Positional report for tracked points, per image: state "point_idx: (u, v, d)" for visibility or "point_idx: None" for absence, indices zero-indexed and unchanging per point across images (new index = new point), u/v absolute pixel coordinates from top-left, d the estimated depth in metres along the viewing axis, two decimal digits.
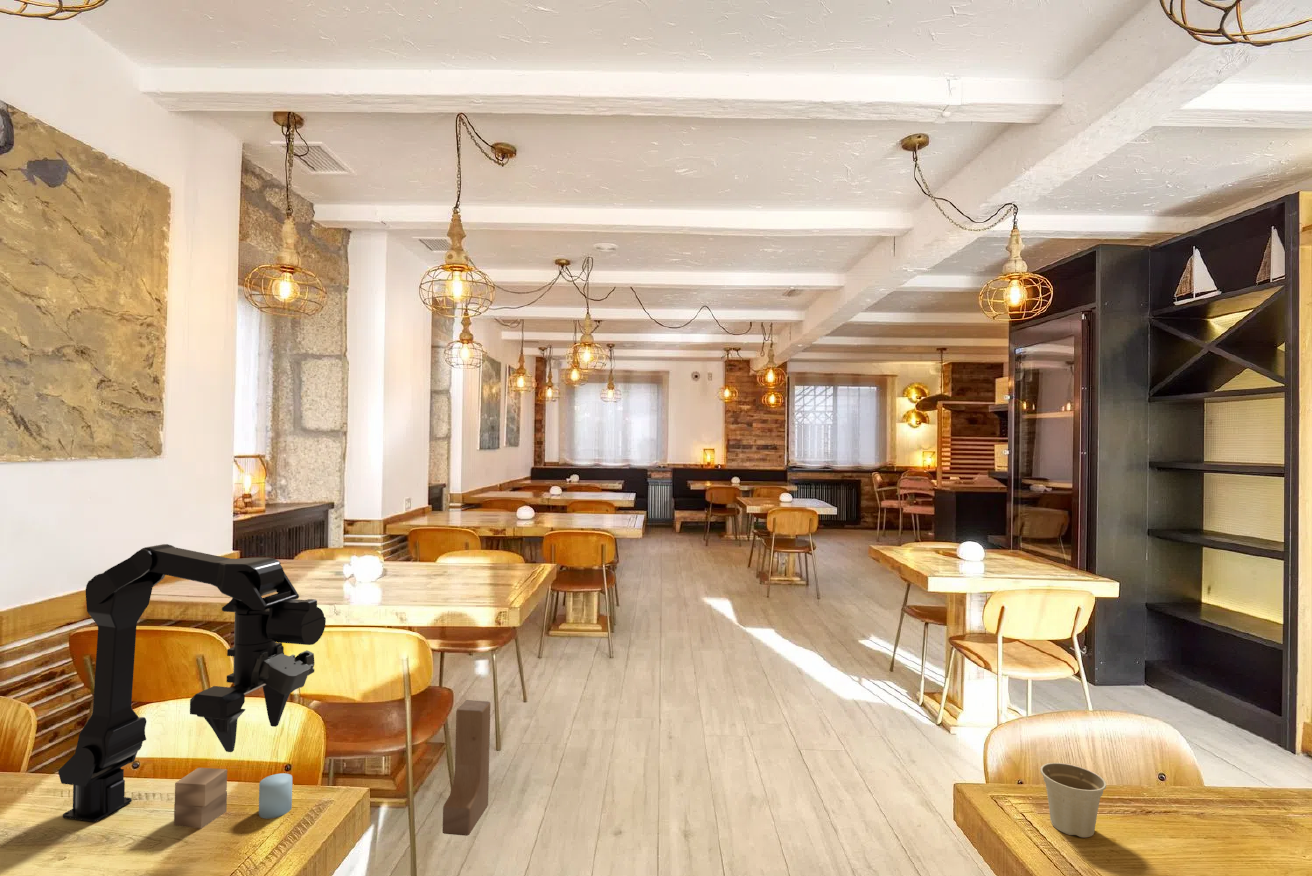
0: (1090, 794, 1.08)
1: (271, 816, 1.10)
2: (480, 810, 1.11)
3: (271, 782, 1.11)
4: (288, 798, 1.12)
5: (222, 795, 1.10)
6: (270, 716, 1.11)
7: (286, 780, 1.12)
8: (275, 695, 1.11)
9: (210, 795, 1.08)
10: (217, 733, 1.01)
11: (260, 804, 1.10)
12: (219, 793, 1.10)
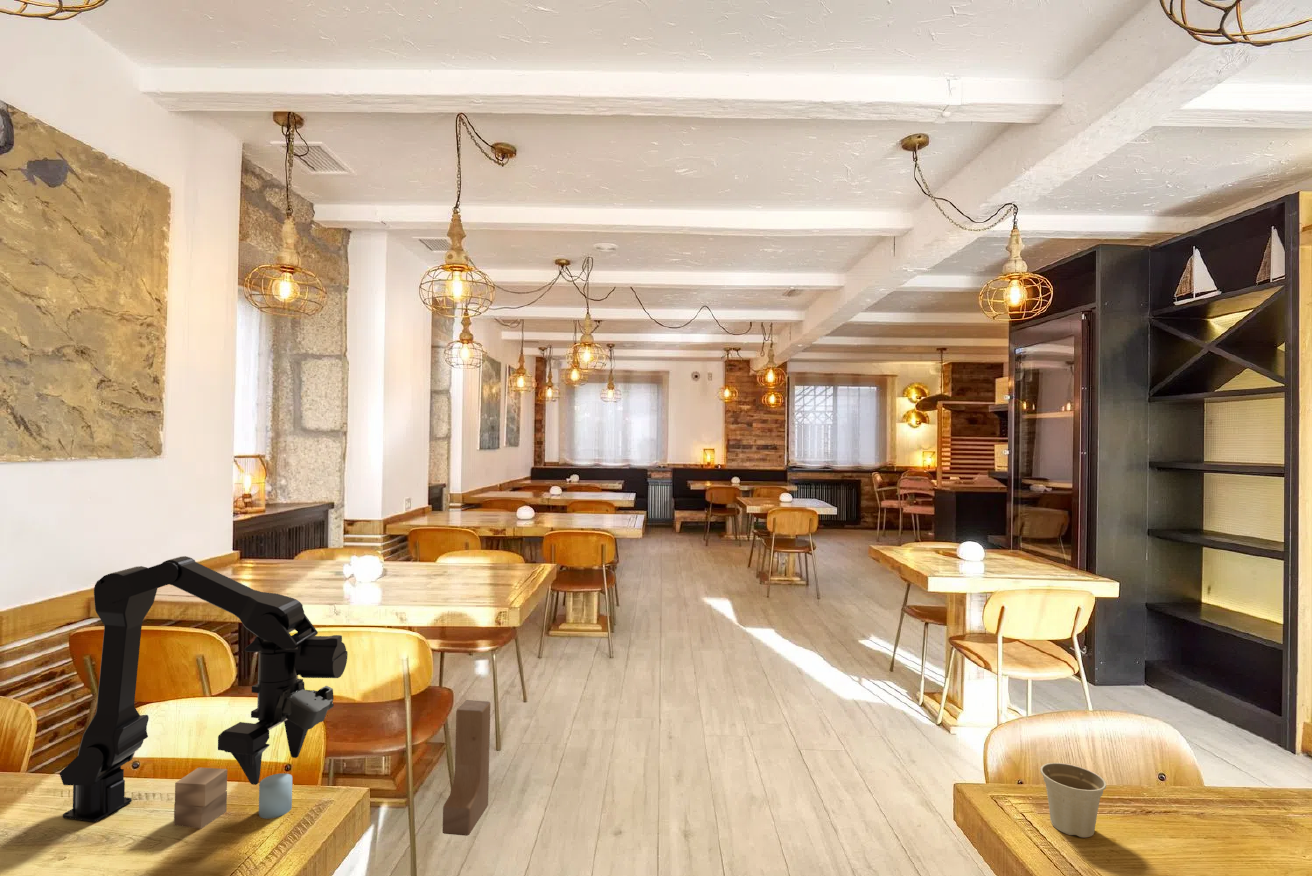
0: (1090, 794, 1.08)
1: (271, 816, 1.10)
2: (480, 810, 1.11)
3: (271, 782, 1.11)
4: (288, 798, 1.12)
5: (222, 795, 1.10)
6: (291, 748, 1.16)
7: (286, 780, 1.12)
8: (295, 728, 1.17)
9: (210, 795, 1.08)
10: (242, 767, 1.06)
11: (260, 804, 1.10)
12: (219, 793, 1.10)
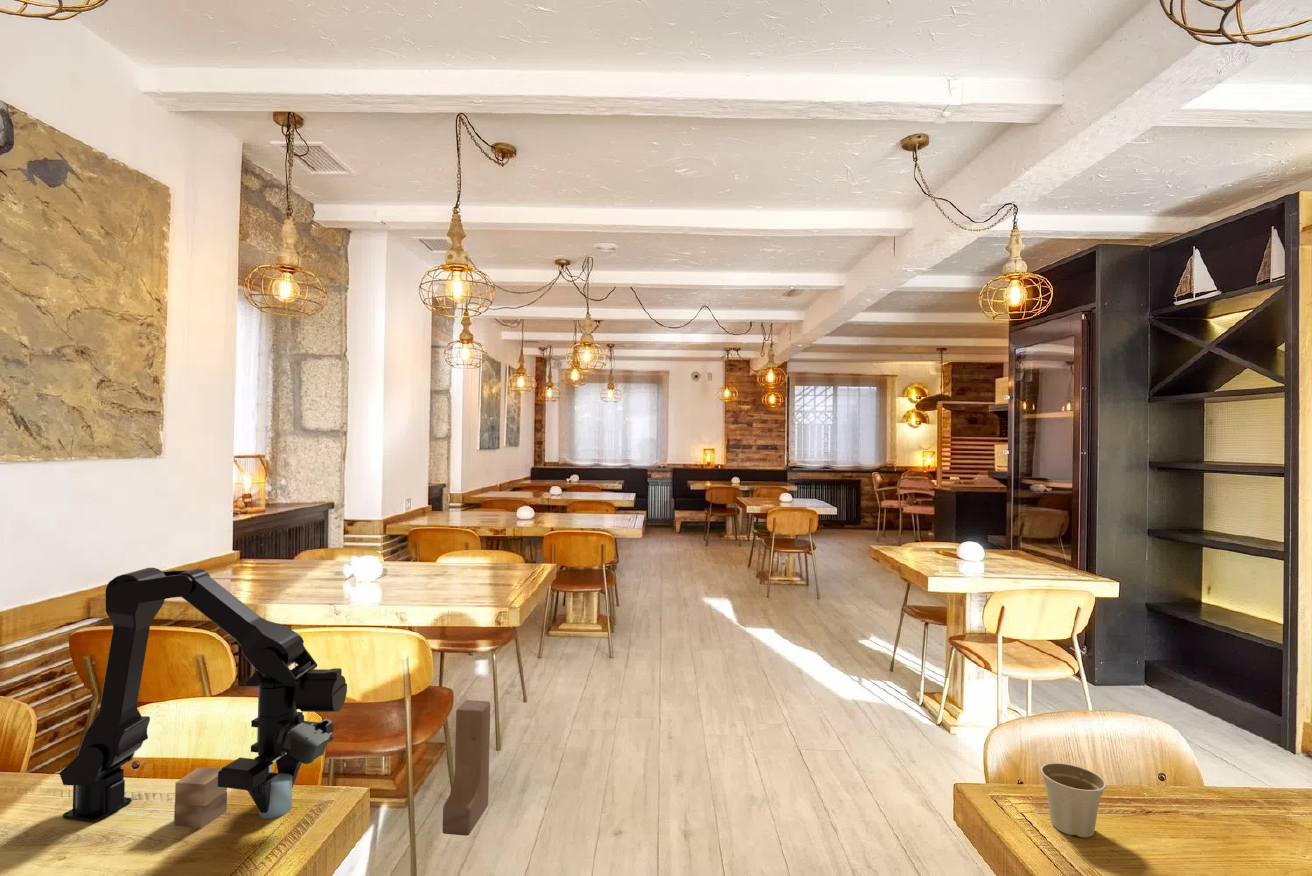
0: (1090, 794, 1.08)
1: (271, 816, 1.10)
2: (480, 810, 1.11)
3: (271, 782, 1.11)
4: (288, 798, 1.12)
5: (222, 795, 1.10)
6: None
7: (286, 779, 1.12)
8: (287, 765, 1.15)
9: (210, 795, 1.08)
10: (252, 796, 1.09)
11: None
12: (219, 793, 1.10)
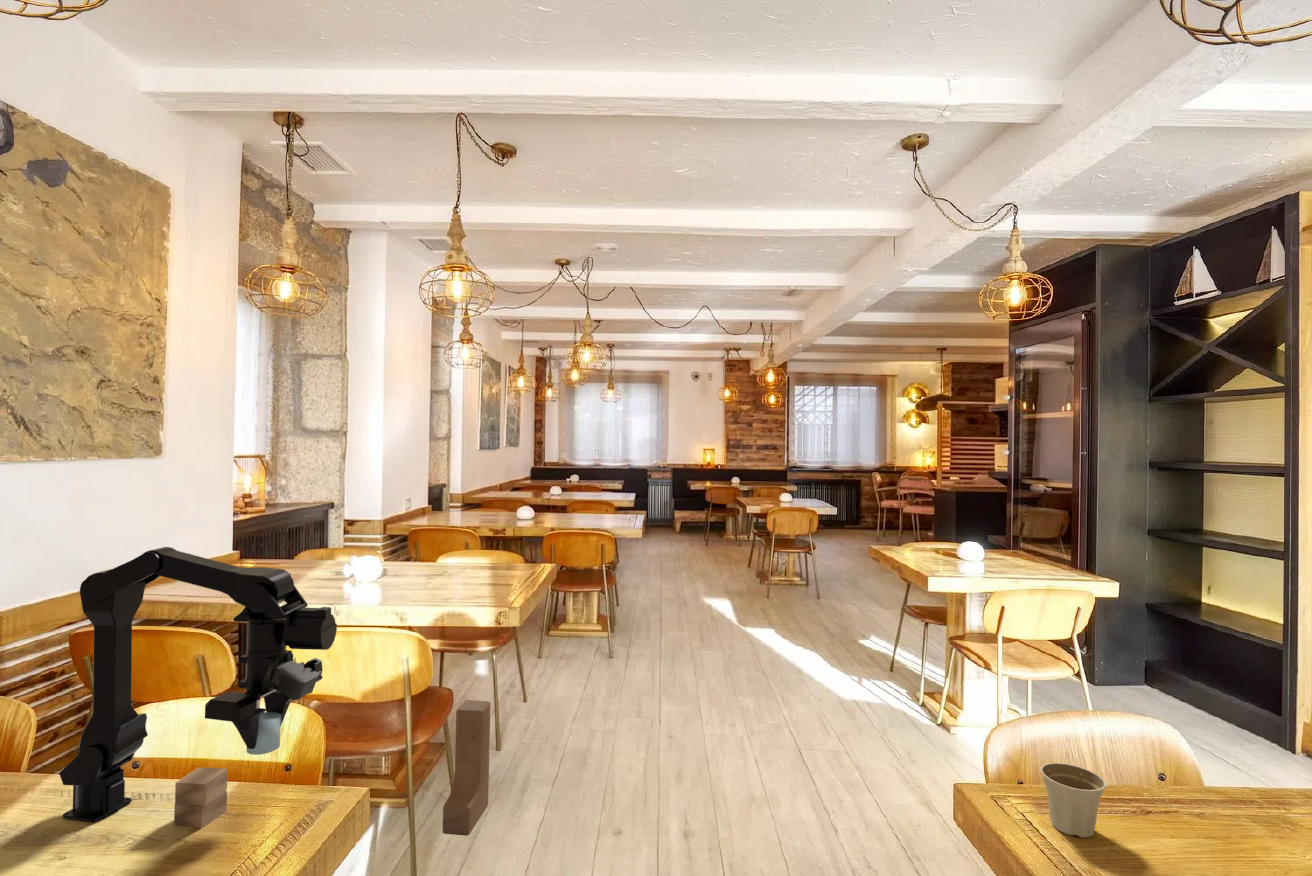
0: (1089, 793, 1.08)
1: (259, 752, 1.09)
2: (480, 810, 1.11)
3: (259, 719, 1.11)
4: (277, 736, 1.11)
5: (222, 795, 1.10)
6: None
7: (274, 717, 1.12)
8: (276, 704, 1.14)
9: (211, 794, 1.08)
10: (239, 731, 1.08)
11: None
12: (219, 792, 1.10)
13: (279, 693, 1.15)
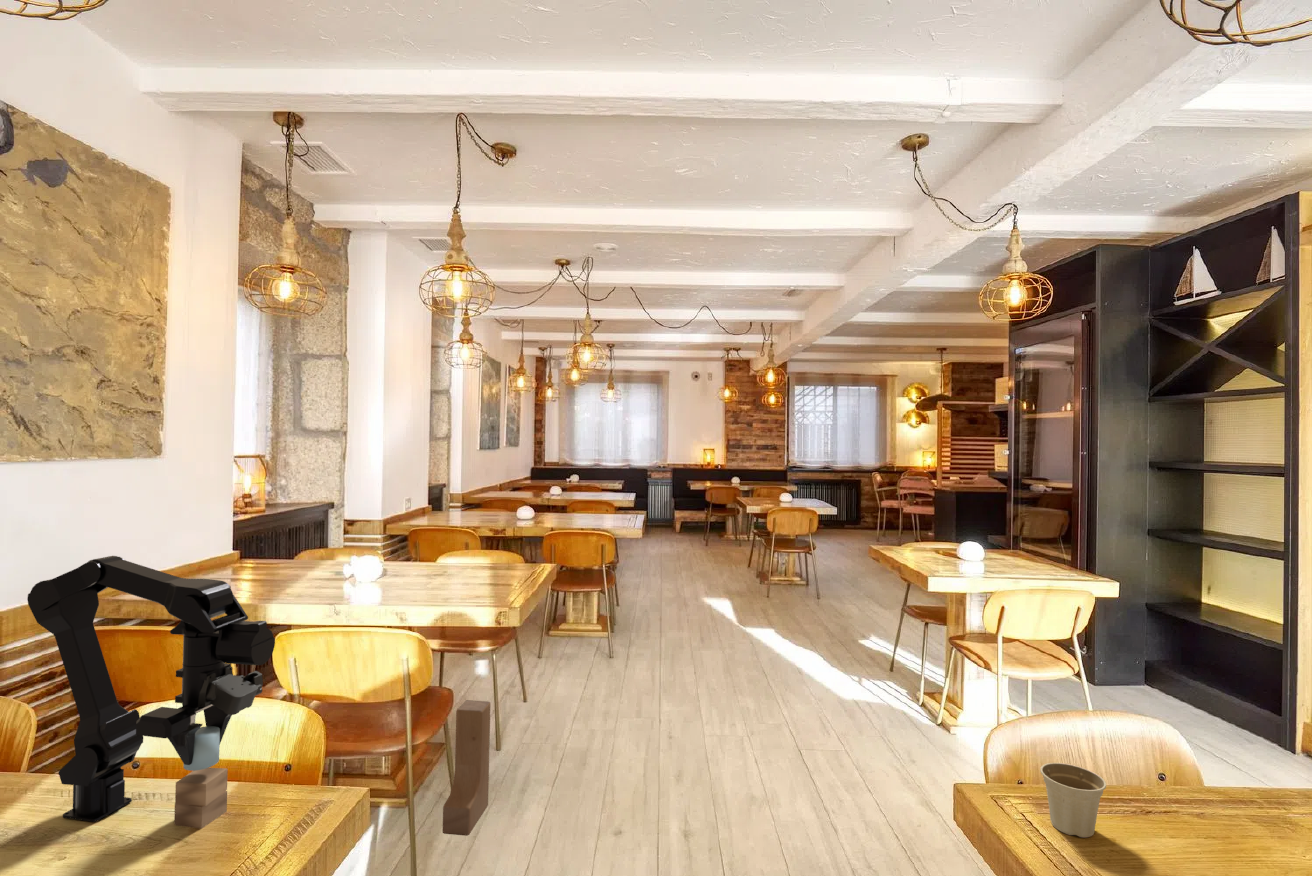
0: (1090, 794, 1.08)
1: (195, 768, 1.07)
2: (480, 810, 1.11)
3: (197, 734, 1.09)
4: (215, 751, 1.09)
5: (222, 795, 1.10)
6: None
7: (213, 732, 1.09)
8: (215, 719, 1.12)
9: (211, 794, 1.08)
10: (175, 747, 1.06)
11: None
12: (220, 792, 1.10)
13: (219, 707, 1.12)
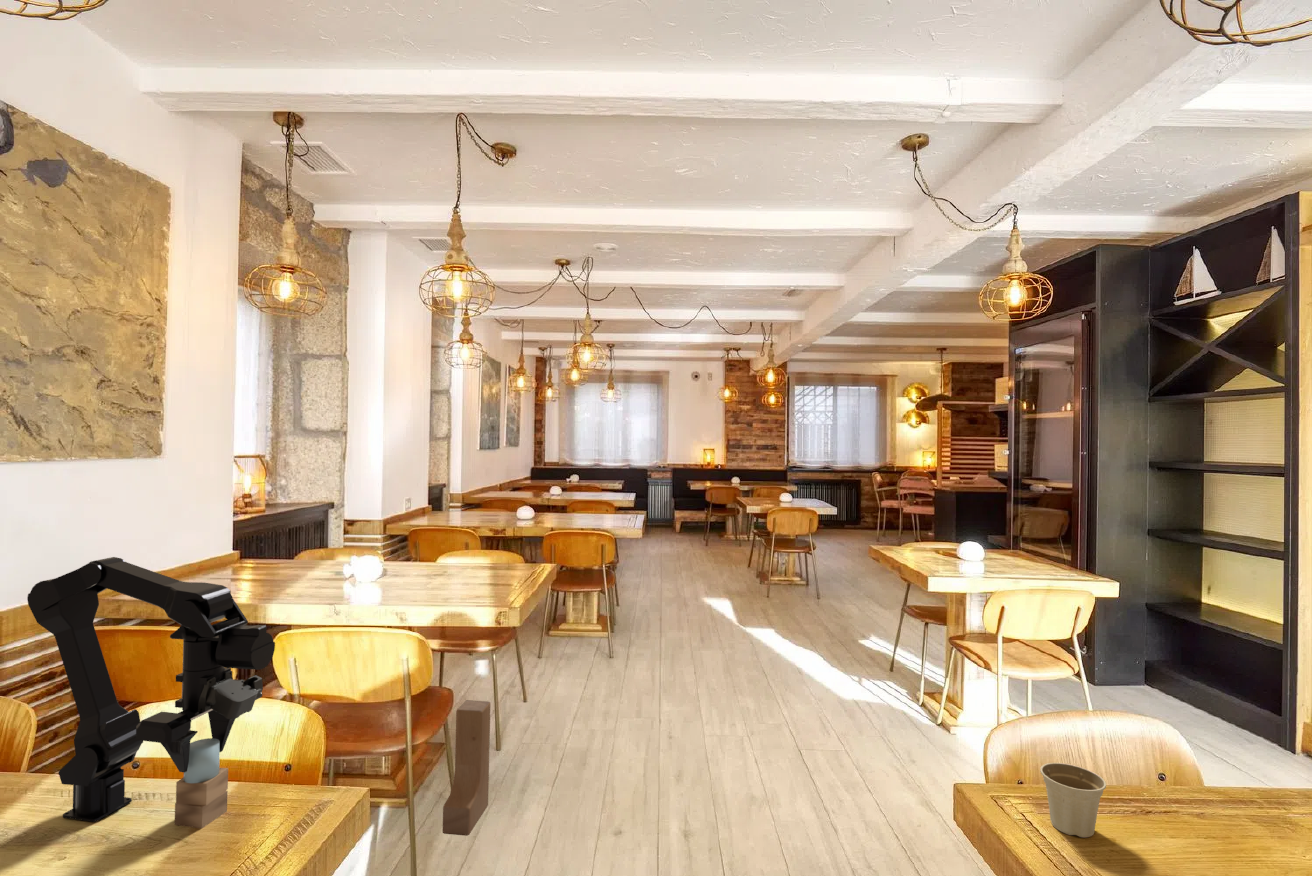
0: (1089, 793, 1.08)
1: (196, 781, 1.07)
2: (480, 810, 1.11)
3: (196, 746, 1.09)
4: (215, 763, 1.09)
5: (223, 795, 1.10)
6: None
7: (212, 744, 1.09)
8: (220, 721, 1.13)
9: (211, 794, 1.08)
10: (170, 754, 1.05)
11: None
12: (220, 792, 1.10)
13: None
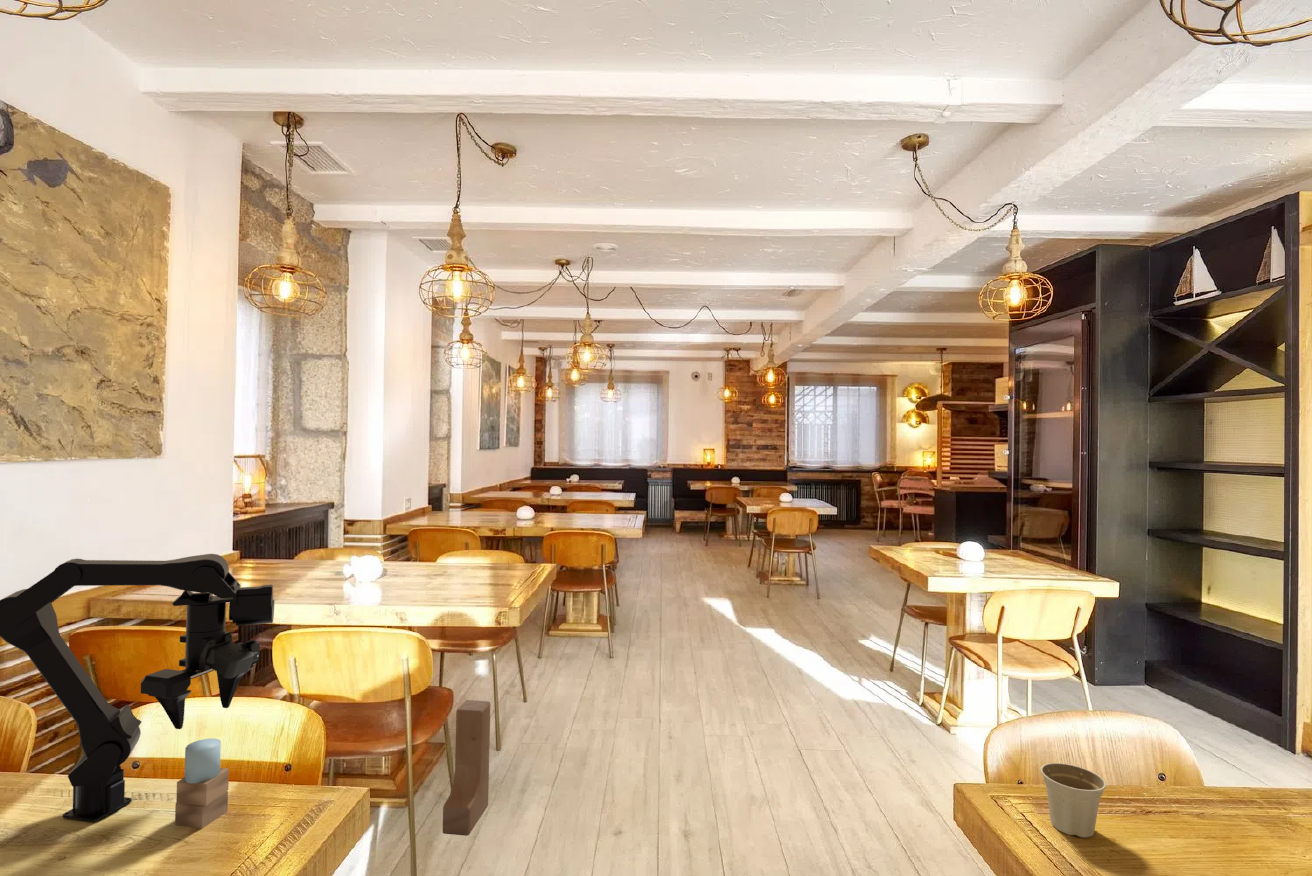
0: (1090, 794, 1.08)
1: (196, 781, 1.07)
2: (480, 810, 1.11)
3: (198, 746, 1.09)
4: (215, 764, 1.09)
5: (223, 795, 1.10)
6: (222, 699, 1.22)
7: (213, 744, 1.09)
8: (227, 679, 1.22)
9: (211, 794, 1.08)
10: (167, 712, 1.12)
11: (185, 768, 1.07)
12: (221, 792, 1.10)
13: None
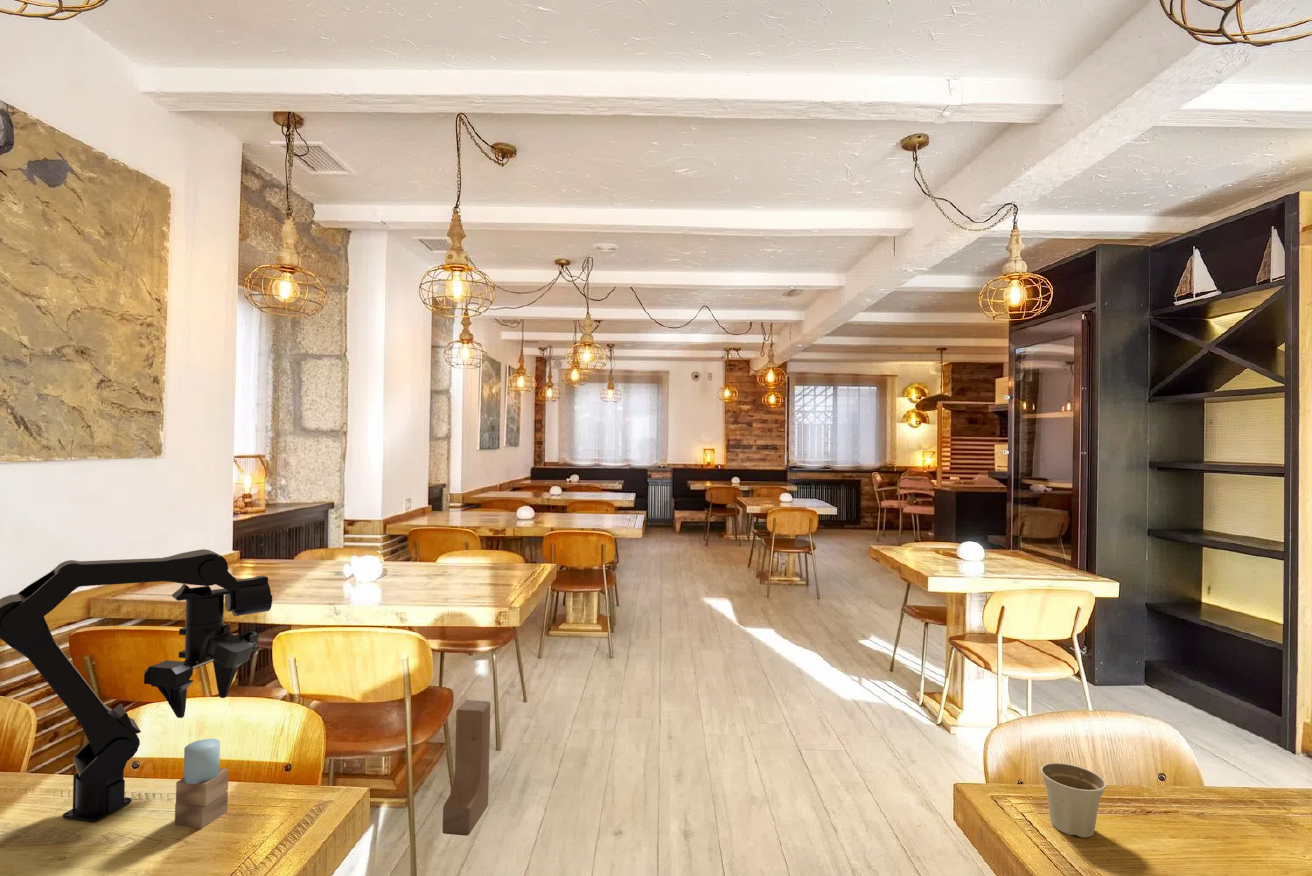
0: (1090, 794, 1.08)
1: (195, 781, 1.07)
2: (480, 810, 1.11)
3: (197, 747, 1.08)
4: (215, 764, 1.09)
5: (223, 795, 1.10)
6: (219, 689, 1.26)
7: (212, 745, 1.09)
8: (224, 670, 1.26)
9: (211, 795, 1.08)
10: (169, 701, 1.16)
11: (184, 769, 1.07)
12: (220, 793, 1.10)
13: None
